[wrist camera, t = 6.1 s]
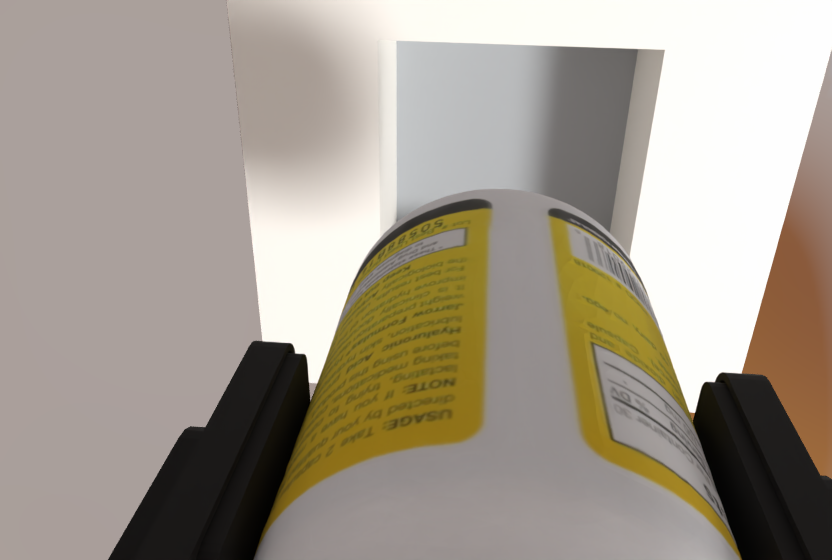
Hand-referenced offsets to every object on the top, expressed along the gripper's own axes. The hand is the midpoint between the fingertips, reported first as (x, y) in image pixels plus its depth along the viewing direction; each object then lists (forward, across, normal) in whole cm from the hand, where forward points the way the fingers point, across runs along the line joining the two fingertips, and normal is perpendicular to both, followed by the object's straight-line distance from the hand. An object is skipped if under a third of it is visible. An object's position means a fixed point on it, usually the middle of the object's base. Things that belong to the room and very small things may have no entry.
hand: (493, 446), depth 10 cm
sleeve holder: (+15, 0, 0) cm, 15 cm away
